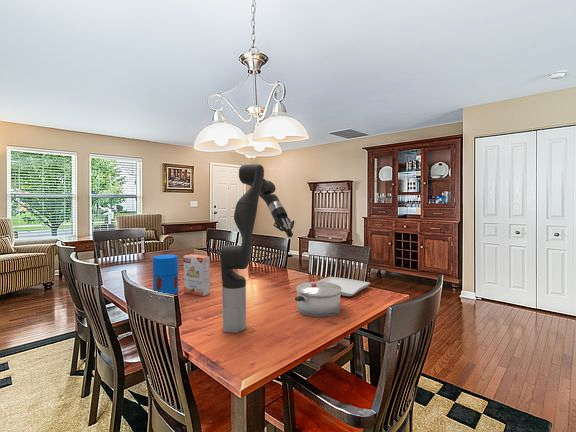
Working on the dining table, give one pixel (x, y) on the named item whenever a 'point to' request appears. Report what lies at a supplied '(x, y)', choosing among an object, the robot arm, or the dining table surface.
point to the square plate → (346, 285)
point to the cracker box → (197, 274)
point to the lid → (318, 289)
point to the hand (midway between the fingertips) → (291, 236)
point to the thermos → (165, 274)
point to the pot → (318, 305)
